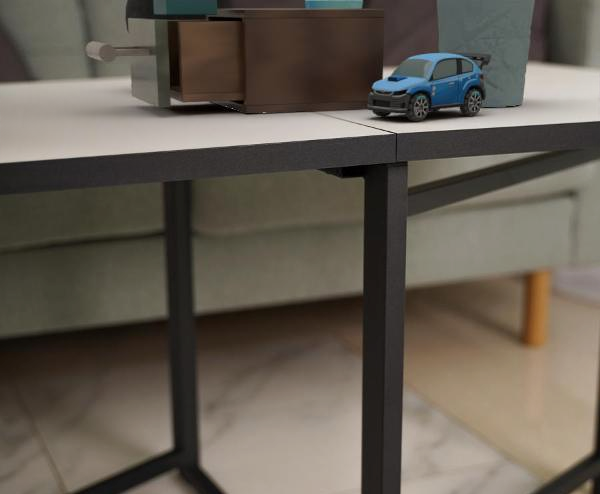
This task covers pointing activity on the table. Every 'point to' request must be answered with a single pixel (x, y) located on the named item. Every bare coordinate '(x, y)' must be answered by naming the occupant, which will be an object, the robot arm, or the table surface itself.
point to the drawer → (181, 60)
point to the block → (185, 7)
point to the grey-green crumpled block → (490, 42)
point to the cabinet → (308, 58)
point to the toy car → (431, 86)
